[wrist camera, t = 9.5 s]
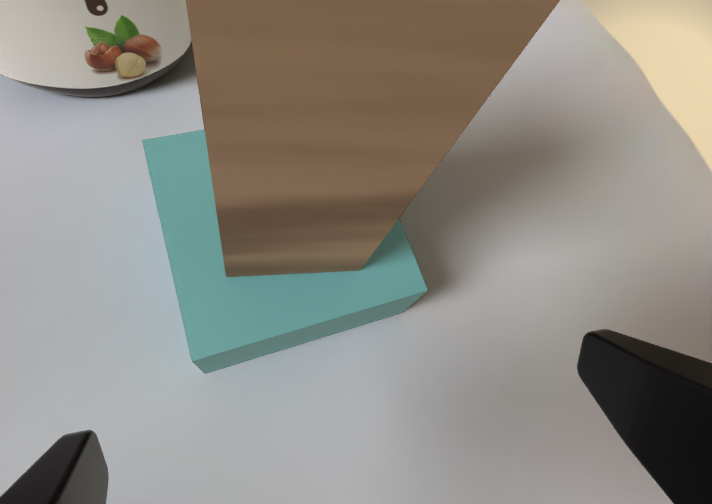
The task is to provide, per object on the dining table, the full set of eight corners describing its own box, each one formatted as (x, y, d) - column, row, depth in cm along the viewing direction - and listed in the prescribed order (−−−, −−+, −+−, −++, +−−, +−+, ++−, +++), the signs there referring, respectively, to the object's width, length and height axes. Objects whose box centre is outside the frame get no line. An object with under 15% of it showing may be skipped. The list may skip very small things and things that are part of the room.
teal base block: (400, 314, 22) (427, 290, 18) (206, 374, 19) (191, 361, 16) (341, 154, 24) (354, 104, 21) (162, 189, 22) (142, 140, 18)
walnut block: (359, 270, 18) (584, -34, 6) (226, 276, 17) (172, -89, 5) (345, 157, 19) (501, -260, 8) (222, 156, 18) (176, -344, 6)
